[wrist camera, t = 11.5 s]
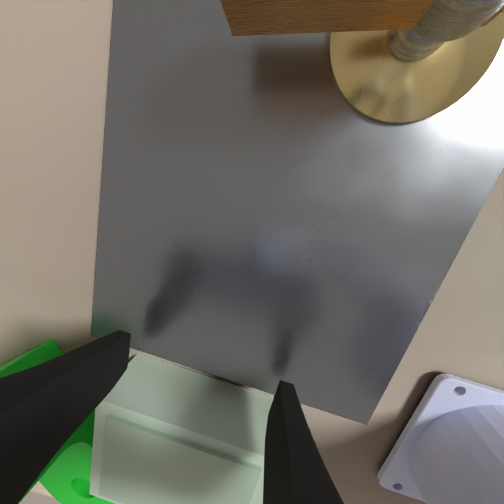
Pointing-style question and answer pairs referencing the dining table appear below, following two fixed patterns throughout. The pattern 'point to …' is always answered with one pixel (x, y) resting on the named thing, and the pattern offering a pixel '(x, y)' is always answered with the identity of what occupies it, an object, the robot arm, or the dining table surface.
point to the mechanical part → (74, 449)
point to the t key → (366, 19)
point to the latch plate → (287, 195)
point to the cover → (178, 439)
